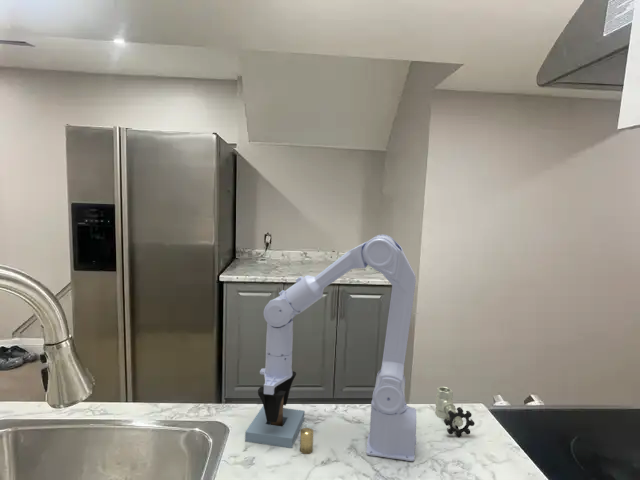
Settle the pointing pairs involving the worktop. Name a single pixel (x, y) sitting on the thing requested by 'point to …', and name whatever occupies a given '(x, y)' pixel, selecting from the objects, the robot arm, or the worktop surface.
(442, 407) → the valve
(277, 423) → the walnut pin
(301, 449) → the brass pin
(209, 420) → the worktop surface
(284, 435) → the hole plate
